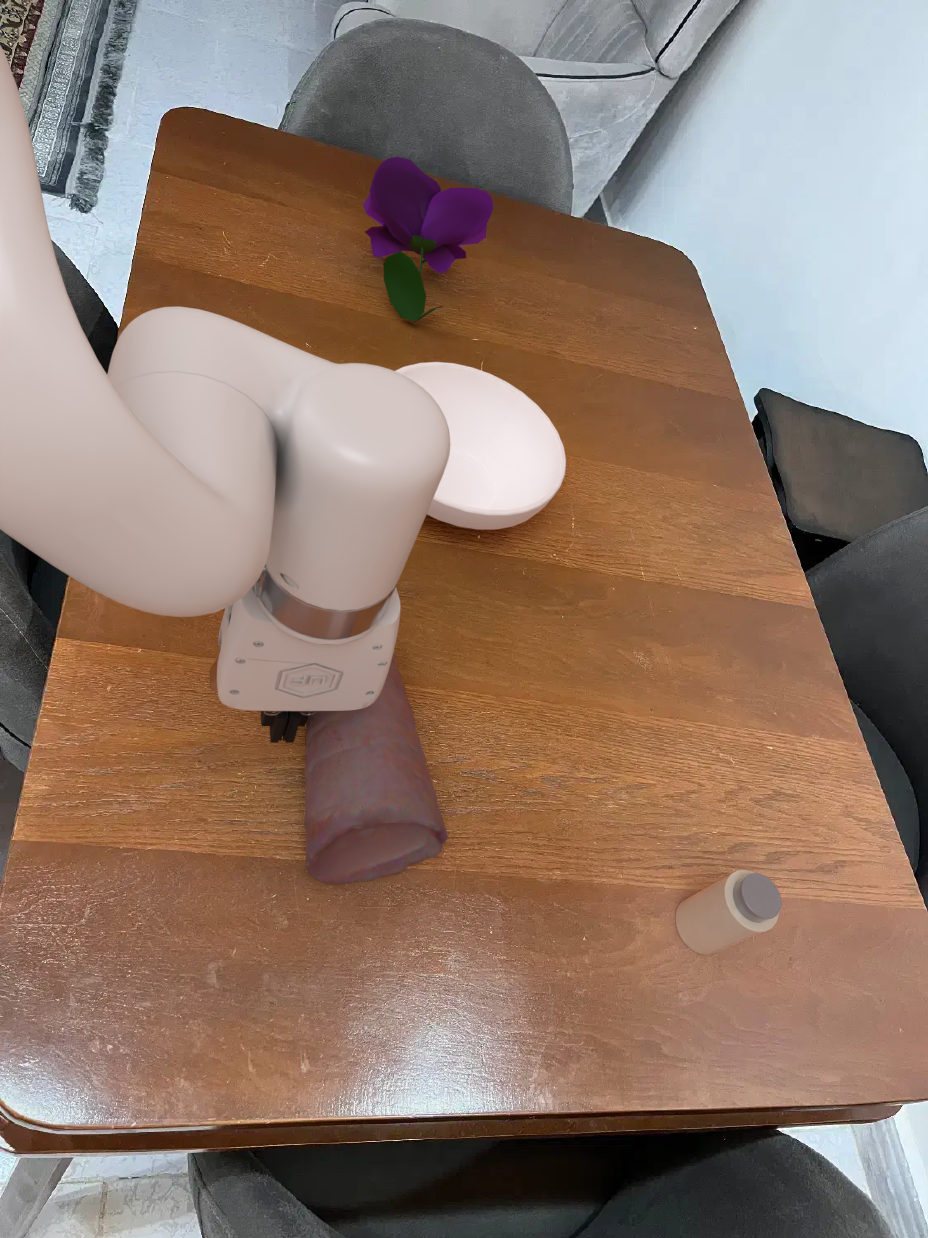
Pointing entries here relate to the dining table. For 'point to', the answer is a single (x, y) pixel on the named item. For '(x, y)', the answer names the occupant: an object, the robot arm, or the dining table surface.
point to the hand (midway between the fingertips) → (280, 724)
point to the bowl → (490, 448)
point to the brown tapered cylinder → (368, 791)
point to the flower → (420, 228)
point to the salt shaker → (728, 912)
